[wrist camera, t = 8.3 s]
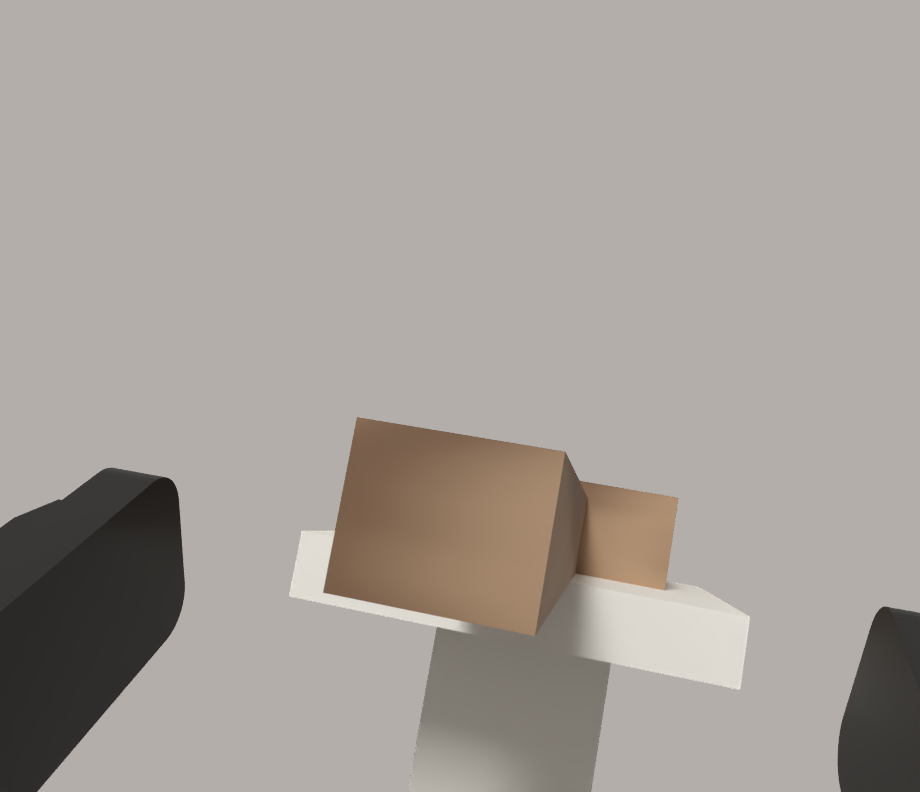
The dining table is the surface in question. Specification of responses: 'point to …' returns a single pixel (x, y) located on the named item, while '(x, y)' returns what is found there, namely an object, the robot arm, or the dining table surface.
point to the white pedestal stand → (543, 675)
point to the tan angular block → (484, 527)
